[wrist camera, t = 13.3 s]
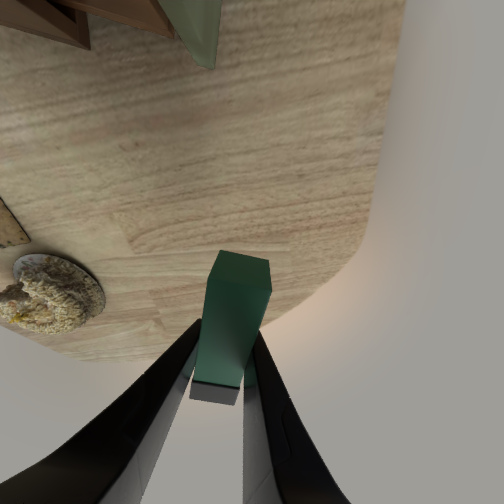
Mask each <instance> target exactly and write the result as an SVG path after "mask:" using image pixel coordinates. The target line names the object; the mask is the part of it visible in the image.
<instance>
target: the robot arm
mask: <svg viewBox="0 0 504 504" xmlns="http://www.w3.org/2000/svg"><path fill="white" fill-rule="evenodd" d="M201 322H202V319H201V318H199V319H197V320H196V321H195V322H194V323H193V324H192V325H191V326H190V327H189V328H188V329H187V330H186V331H185V332H184V333H183V334H182V335H181V336H180V337H179V338H178V339H177V340H176V341H175V342H174V343H173V344H172V345H171V346H170V347H169V348H168V349H167V350H166V351H165V352H164V353H163V354H162V355H161V356H160V357H159V358H158V359H157V360H156V361H155V362H154V363H153V364H152V365H151V366H150V367H149V368H148V369H147V370H146V371H145V372H144V374H142V375H141V376H140V377H139V378H138V379H137V380H136V381H135V382H134V383H133V384H132V385H131V386H130V387H129V388H128V389H127V390H126V391H125V392H124V393H123V394H122V395H120V396H119V397H118V398H117V399H116V400H115V401H114V402H113V403H112V404H111V405H109V406H108V407H107V408H106V409H104V410H103V411H102V412H101V413H100V414H99V415H97V416H96V417H95V418H94V419H93V420H92V421H90V422H89V423H88V424H87V425H86V426H84V427H83V428H82V429H81V430H80V431H79V432H77V433H76V434H75V435H74V436H73V437H71V438H70V439H69V440H68V441H67V442H66V443H64V444H63V445H62V446H60V447H59V448H58V449H57V450H55V451H54V452H53V453H51V454H50V455H49V456H47V457H46V458H44V459H42V460H41V461H39V462H38V463H36V464H34V465H33V466H31V467H29V468H27V469H25V470H24V471H22V472H20V473H18V474H17V475H15V476H13V477H11V478H9V479H8V480H6V481H4V482H2V483H1V484H0V504H140V501H141V499H142V496H143V494H144V492H145V489H146V486H147V484H148V482H149V479H150V477H151V474H152V472H153V469H154V467H155V464H156V462H157V459H158V457H159V454H160V452H161V449H162V447H163V444H164V442H165V439H166V437H167V434H168V432H169V429H170V427H171V424H172V422H173V419H174V417H175V414H176V412H177V410H178V407H179V404H180V402H181V400H182V397H183V395H184V392H185V389H186V387H187V385H188V382H189V380H190V377H191V375H192V372H193V370H194V367H195V364H196V360H197V353H198V346H199V339H200V338H199V336H200V329H201ZM289 397H290V396H289V394H288V391H287V389H286V387H285V385H284V383H283V381H282V378H281V376H280V374H279V372H278V370H277V367H276V365H275V363H274V361H273V359H272V356H271V355H270V352H269V350H268V348H267V345H266V343H265V341H264V339H263V337H262V334H261V332H260V330H259V331H258V334H257V337H256V340H255V342H254V345H253V347H252V349H251V352H250V355H249V358H248V361H247V364H246V367H245V370H244V419H243V428H244V429H243V504H351V503H350V502H349V500H348V499H347V498H346V497H345V495H344V494H343V493H342V491H341V490H340V488H339V487H338V485H337V484H336V482H335V481H334V479H333V477H332V475H331V474H330V472H329V470H328V468H327V466H326V465H325V463H324V461H323V459H322V458H321V456H320V454H319V452H318V450H317V449H316V447H315V445H314V443H313V442H312V440H311V438H310V436H309V434H308V432H307V431H306V429H305V427H304V425H303V423H302V422H301V419H300V417H299V415H298V413H297V411H296V409H295V407H294V405H293V402H292V400H291V398H289Z"/></svg>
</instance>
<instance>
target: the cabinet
mask: <svg viewBox="0 0 504 504" xmlns="http://www.w3.org/2000/svg"><path fill="white" fill-rule="evenodd" d="M0 25H4V26H7V27H11V28H14V29H18V30H21V31H24V32H28V33H31V34H35V35H38V36H42V37H45V38H49V39H52V40H56V41H59V42H62V43H66V44H69V45H73V46H76V47H80V48H83V49H87V50H90V41H89V32H88V23H87V14H86V12H84V11H81V10H78V9H74V8H71V7H68V6H65V5H61V4H58V3H55V2H51V1H48V0H0Z"/></svg>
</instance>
